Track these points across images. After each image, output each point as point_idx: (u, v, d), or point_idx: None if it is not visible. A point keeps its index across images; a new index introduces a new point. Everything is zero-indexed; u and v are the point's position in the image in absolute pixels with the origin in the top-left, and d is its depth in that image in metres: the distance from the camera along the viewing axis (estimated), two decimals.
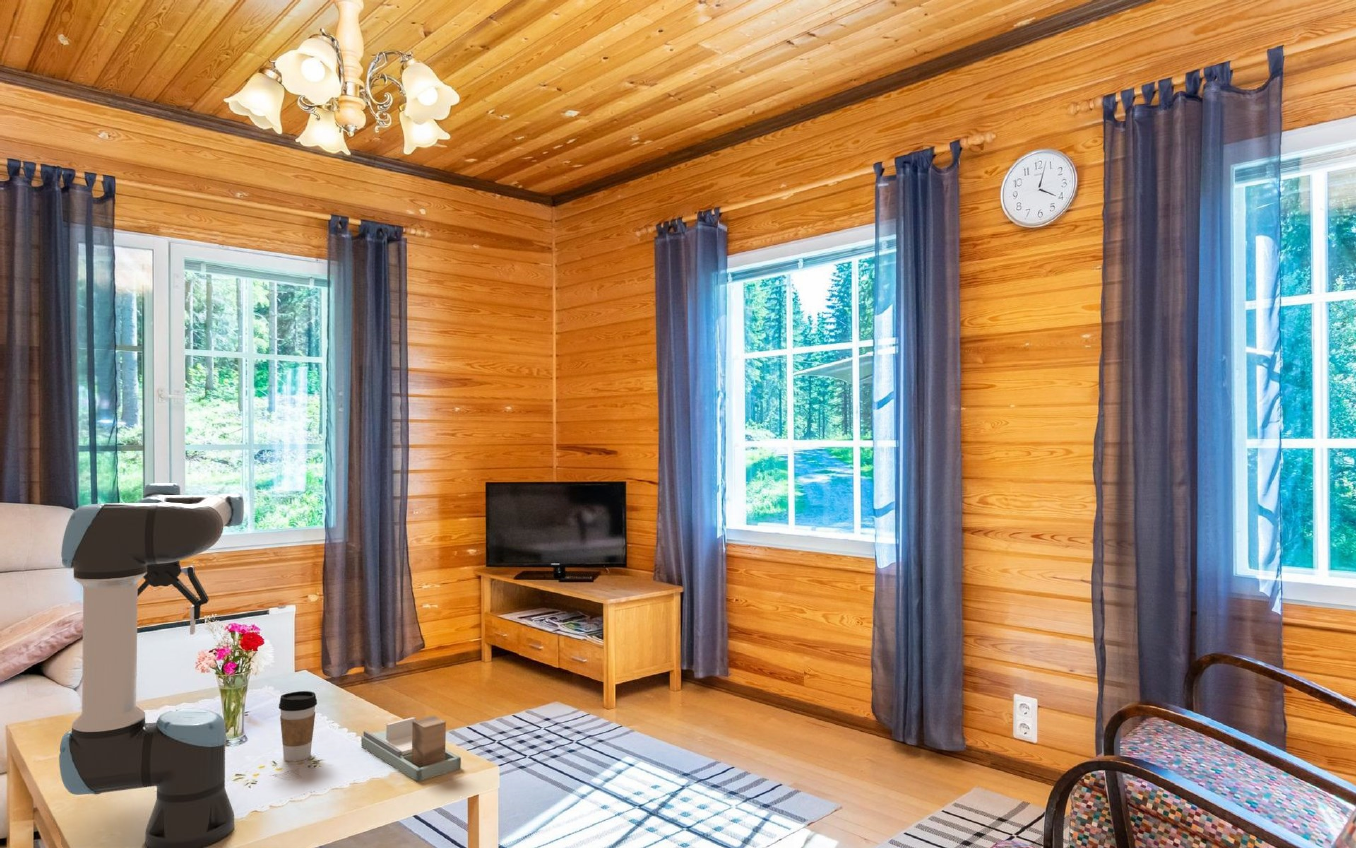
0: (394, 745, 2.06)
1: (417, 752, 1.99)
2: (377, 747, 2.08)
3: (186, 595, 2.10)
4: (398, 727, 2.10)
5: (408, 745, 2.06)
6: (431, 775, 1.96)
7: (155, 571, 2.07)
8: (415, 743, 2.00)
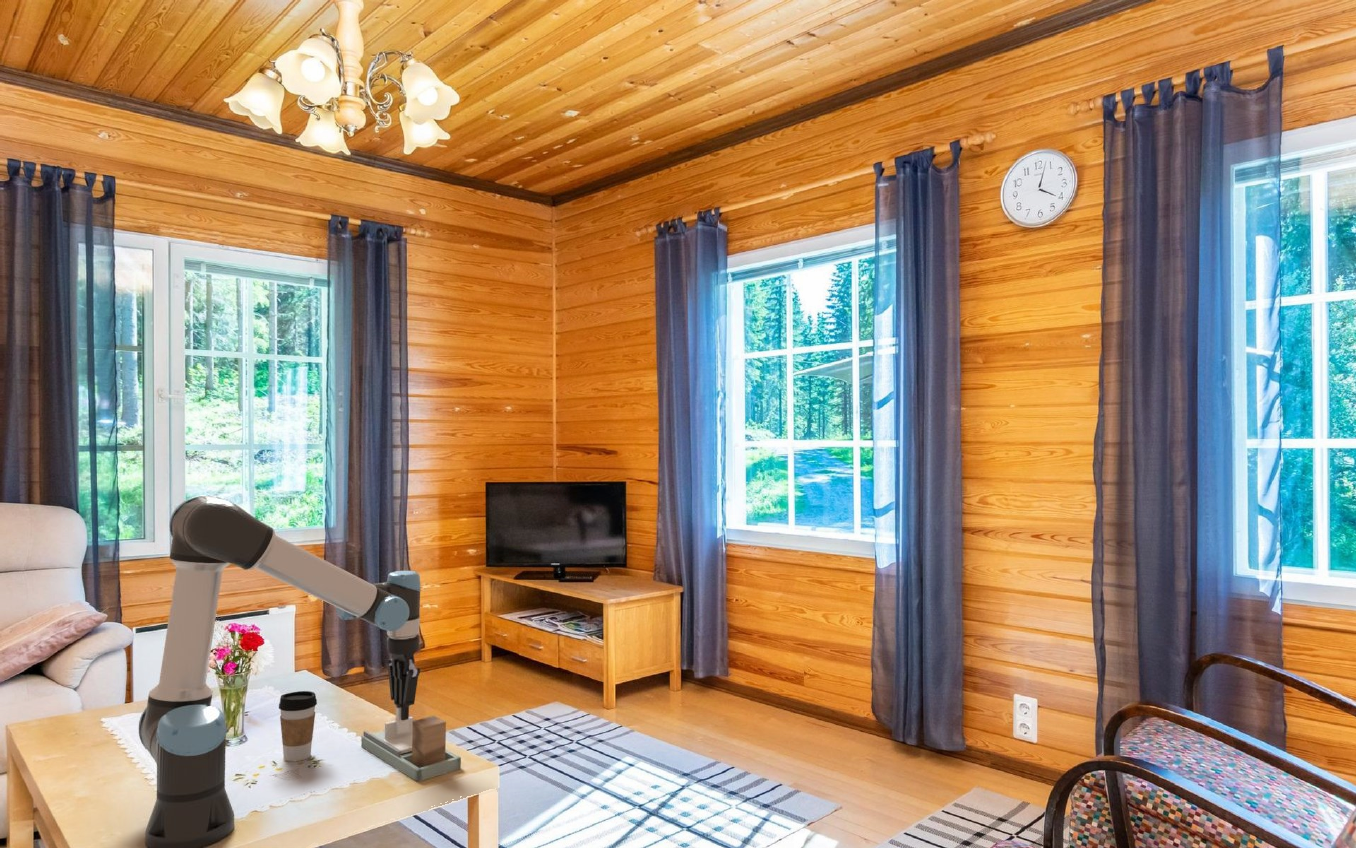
0: (392, 744, 2.06)
1: (417, 752, 1.99)
2: (377, 747, 2.08)
3: (400, 691, 2.09)
4: None
5: (407, 744, 2.06)
6: (431, 775, 1.96)
7: (395, 657, 2.11)
8: (415, 743, 2.00)
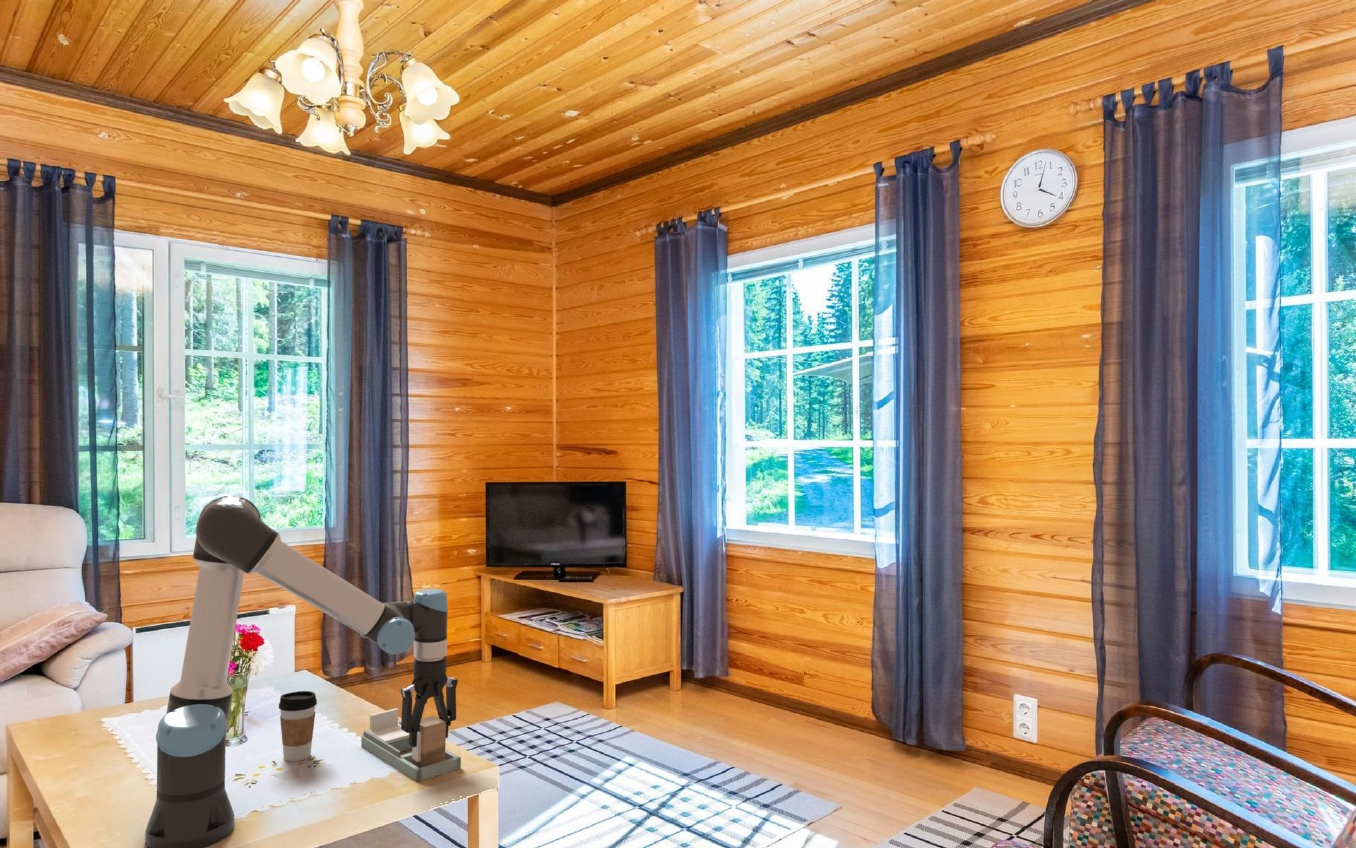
0: (377, 735, 2.12)
1: None
2: (377, 747, 2.08)
3: (443, 711, 2.03)
4: (381, 717, 2.16)
5: (391, 735, 2.12)
6: (431, 775, 1.96)
7: (426, 683, 1.99)
8: None
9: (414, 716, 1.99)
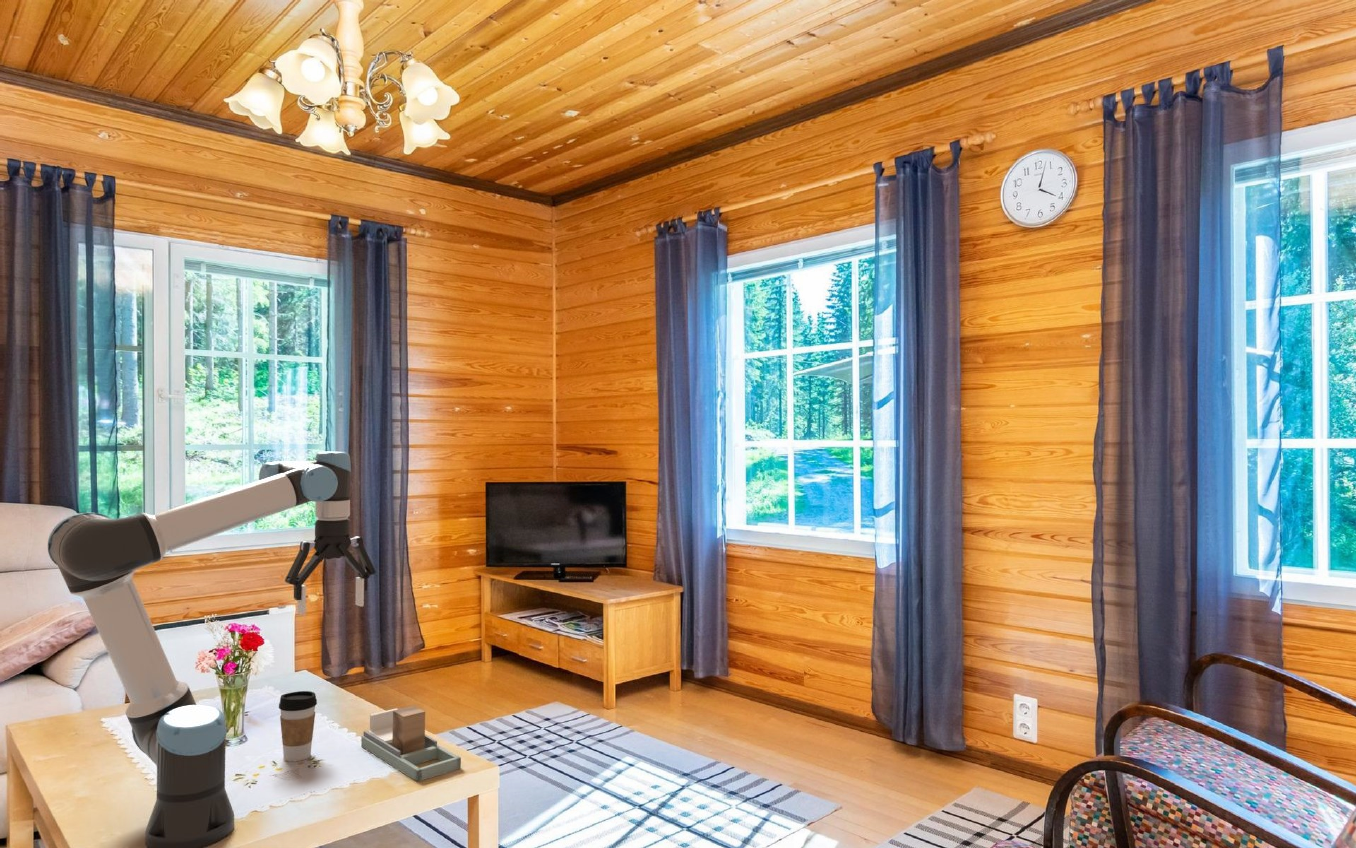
0: (377, 735, 2.12)
1: (397, 741, 2.06)
2: (377, 747, 2.08)
3: (357, 566, 2.04)
4: (381, 717, 2.16)
5: (391, 735, 2.12)
6: (431, 775, 1.96)
7: (329, 543, 1.99)
8: (395, 732, 2.07)
9: (304, 570, 1.96)
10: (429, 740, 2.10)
